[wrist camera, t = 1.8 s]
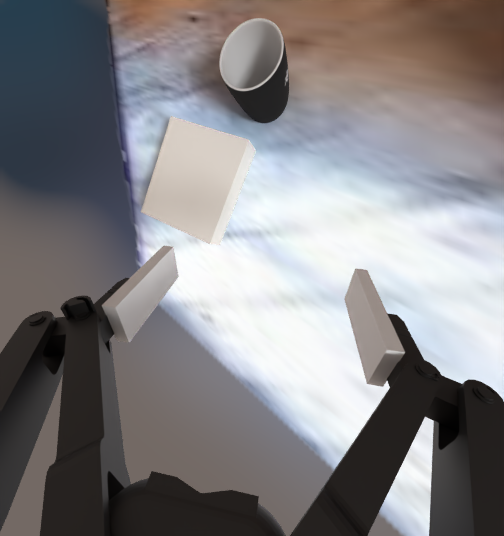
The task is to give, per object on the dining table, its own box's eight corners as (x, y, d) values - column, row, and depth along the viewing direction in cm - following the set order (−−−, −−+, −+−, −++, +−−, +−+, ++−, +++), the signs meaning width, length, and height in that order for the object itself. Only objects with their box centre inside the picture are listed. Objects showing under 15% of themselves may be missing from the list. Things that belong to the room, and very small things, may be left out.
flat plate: (184, 128, 45) (171, 116, 41) (256, 150, 40) (249, 139, 37) (155, 215, 48) (140, 212, 44) (220, 245, 43) (209, 244, 40)
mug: (300, 116, 38) (292, 68, 28) (251, 139, 41) (228, 103, 31) (281, 49, 38) (266, -21, 29) (233, 77, 41) (205, 22, 32)
